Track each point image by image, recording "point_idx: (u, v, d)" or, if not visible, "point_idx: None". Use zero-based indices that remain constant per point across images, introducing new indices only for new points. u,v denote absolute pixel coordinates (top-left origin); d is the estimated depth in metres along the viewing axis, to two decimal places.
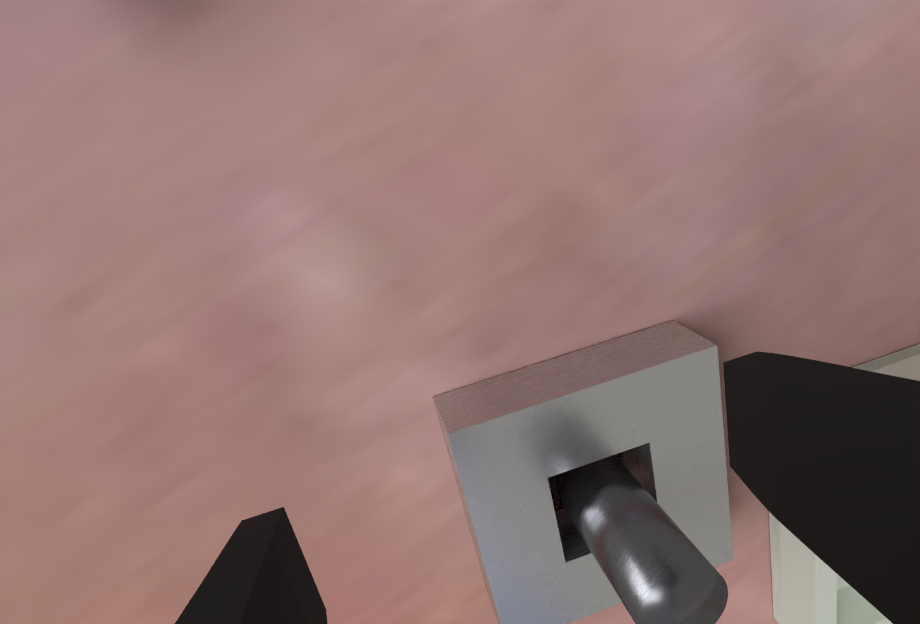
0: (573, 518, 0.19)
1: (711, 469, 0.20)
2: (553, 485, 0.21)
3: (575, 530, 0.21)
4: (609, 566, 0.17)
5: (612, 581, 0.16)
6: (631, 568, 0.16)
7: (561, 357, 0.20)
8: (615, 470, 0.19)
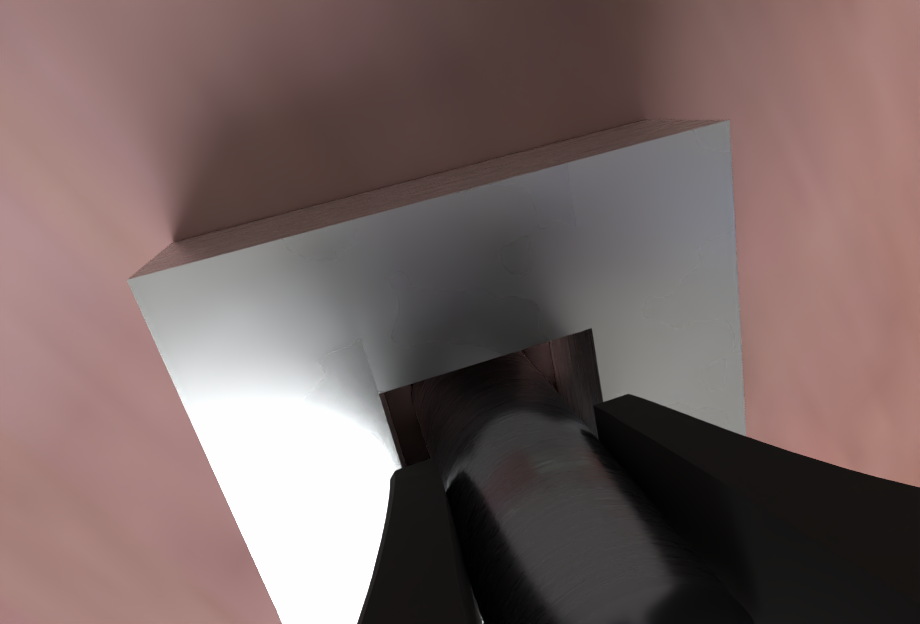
0: None
1: (467, 229, 0.09)
2: None
3: None
4: None
5: None
6: None
7: None
8: (435, 454, 0.10)
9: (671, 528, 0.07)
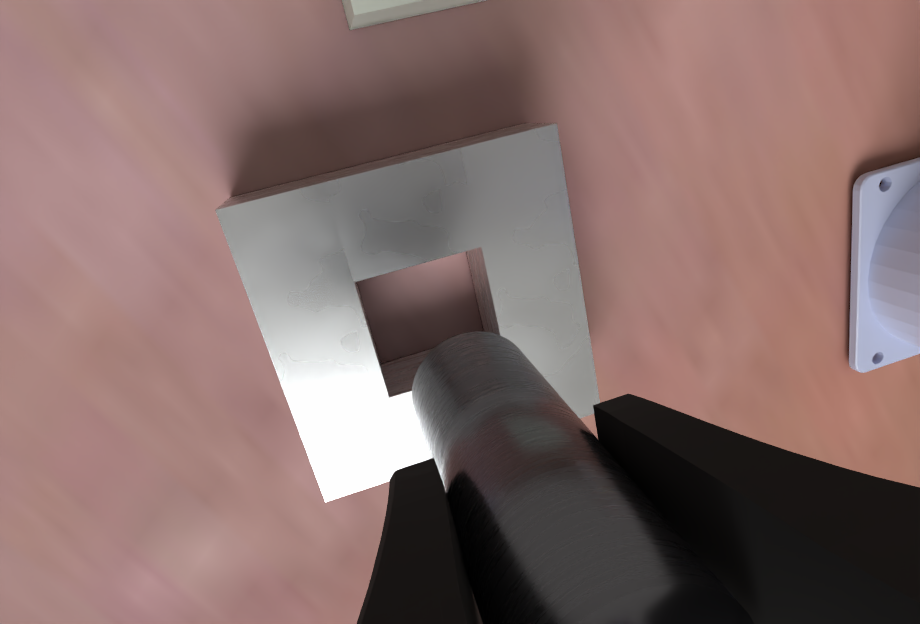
0: None
1: (403, 185, 0.15)
2: None
3: (488, 321, 0.18)
4: None
5: None
6: None
7: None
8: (434, 454, 0.10)
9: (670, 528, 0.07)
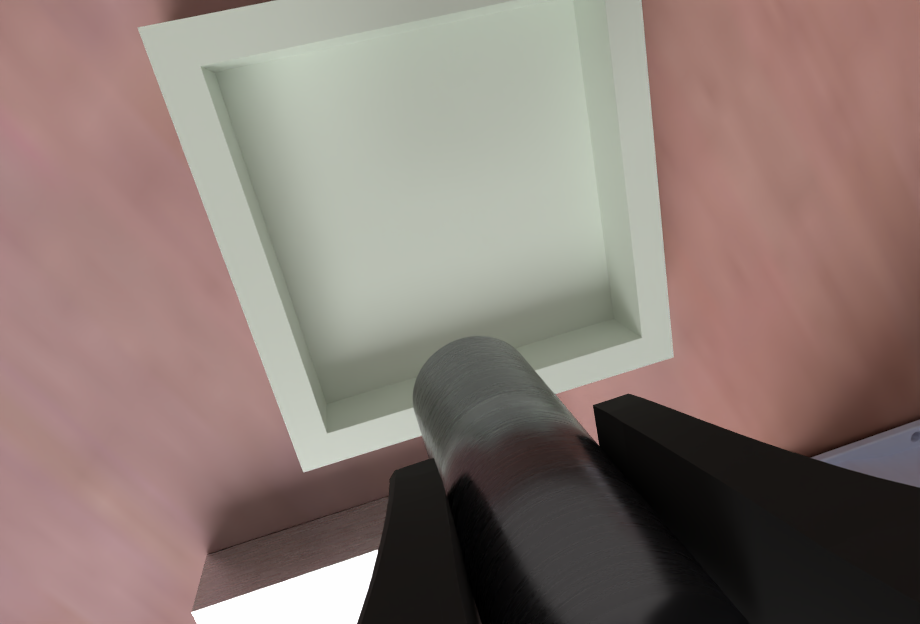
0: None
1: (346, 575, 0.18)
2: None
3: None
4: None
5: None
6: None
7: None
8: (436, 455, 0.10)
9: (675, 538, 0.07)
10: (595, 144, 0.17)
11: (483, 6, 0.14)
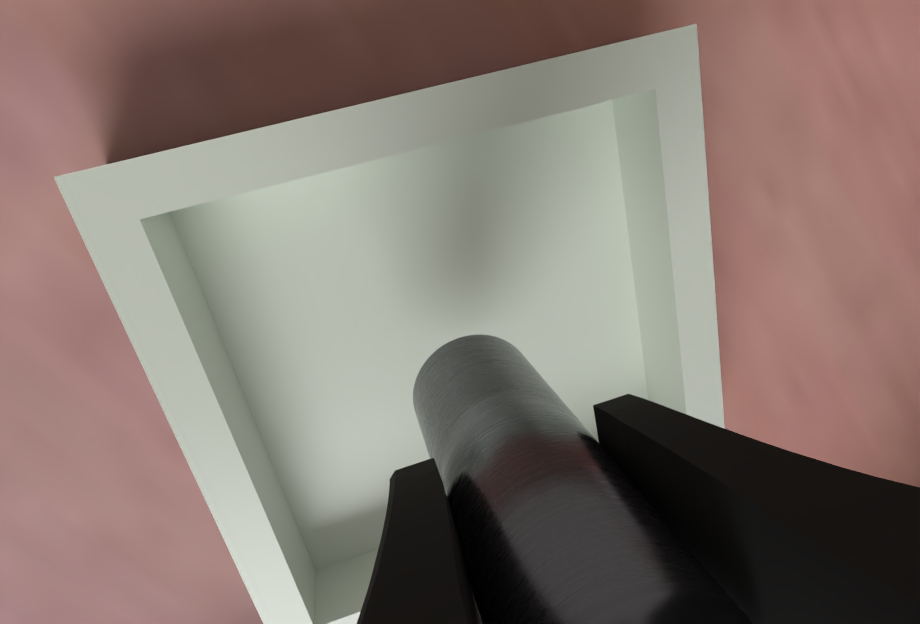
0: None
1: None
2: None
3: None
4: None
5: None
6: None
7: None
8: (436, 453, 0.09)
9: (676, 536, 0.07)
10: (637, 264, 0.14)
11: (504, 126, 0.11)
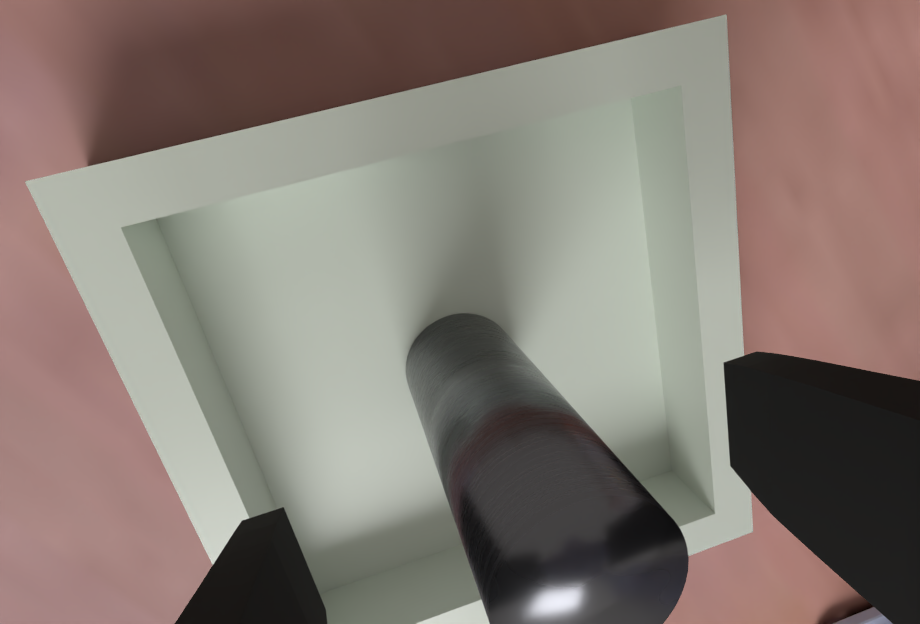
0: None
1: None
2: None
3: None
4: None
5: None
6: None
7: None
8: (426, 413, 0.11)
9: (623, 465, 0.08)
10: (656, 273, 0.14)
11: (518, 125, 0.10)
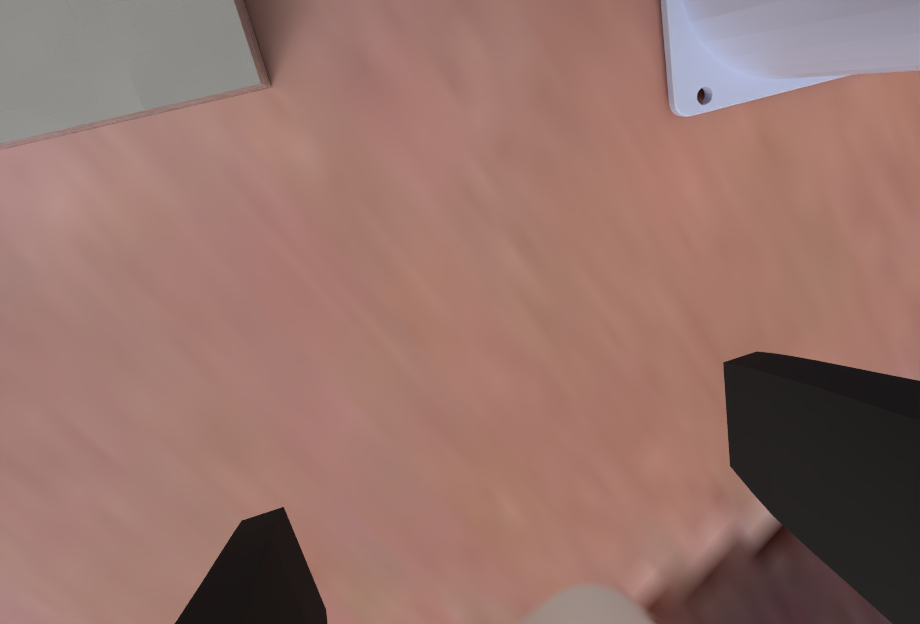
0: None
1: None
2: None
3: None
4: None
5: None
6: None
7: None
8: None
9: None
10: None
11: None
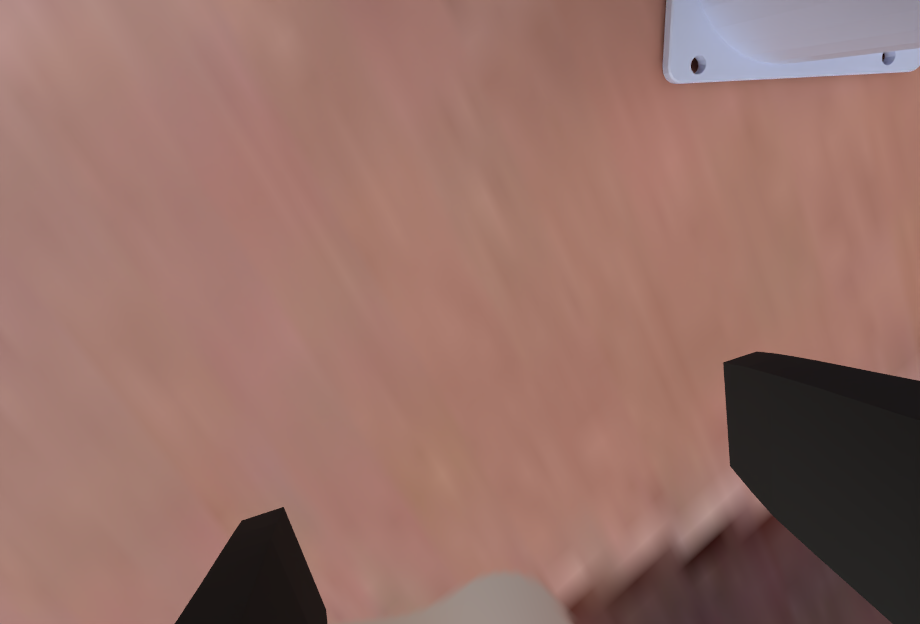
0: None
1: None
2: None
3: None
4: None
5: None
6: None
7: None
8: None
9: None
10: None
11: None
